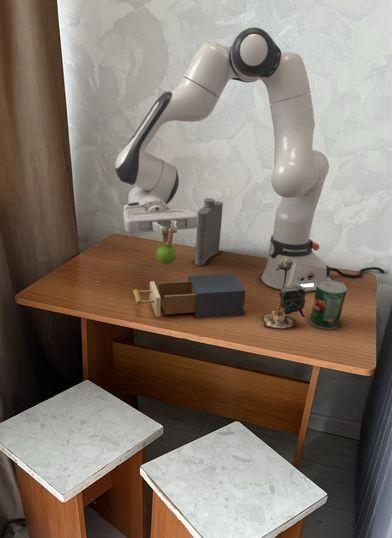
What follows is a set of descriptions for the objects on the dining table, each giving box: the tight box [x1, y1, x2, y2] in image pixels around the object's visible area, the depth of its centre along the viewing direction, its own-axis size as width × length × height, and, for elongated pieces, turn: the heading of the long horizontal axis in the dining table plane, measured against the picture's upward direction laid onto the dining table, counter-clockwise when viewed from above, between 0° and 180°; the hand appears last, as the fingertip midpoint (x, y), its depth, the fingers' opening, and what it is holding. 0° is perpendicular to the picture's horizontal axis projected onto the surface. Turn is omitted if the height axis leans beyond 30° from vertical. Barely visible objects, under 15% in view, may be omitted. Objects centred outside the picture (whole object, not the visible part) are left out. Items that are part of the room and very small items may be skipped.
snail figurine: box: [155, 224, 178, 265], centre depth 132 cm, size 5×6×12 cm
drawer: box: [132, 280, 197, 318], centre depth 136 cm, size 17×10×6 cm, turn 104°
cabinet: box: [187, 273, 246, 319], centre depth 139 cm, size 13×11×7 cm
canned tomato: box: [309, 279, 348, 330], centre depth 134 cm, size 8×8×11 cm
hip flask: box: [194, 197, 224, 266], centre depth 167 cm, size 16×4×20 cm, turn 155°
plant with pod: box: [262, 256, 306, 330], centre depth 130 cm, size 8×11×20 cm
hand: (169, 230), depth 129 cm, fingers closed on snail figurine
